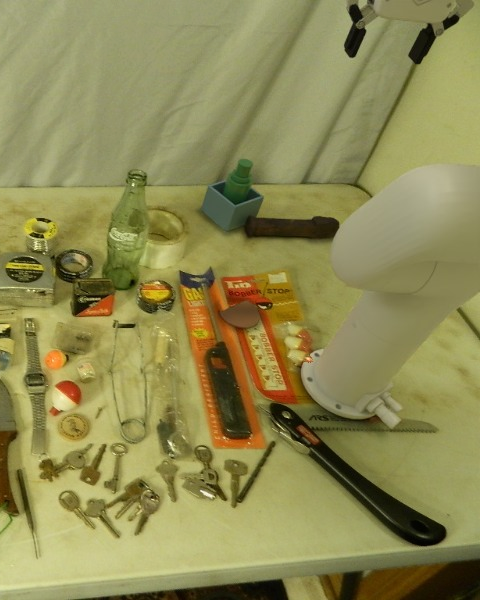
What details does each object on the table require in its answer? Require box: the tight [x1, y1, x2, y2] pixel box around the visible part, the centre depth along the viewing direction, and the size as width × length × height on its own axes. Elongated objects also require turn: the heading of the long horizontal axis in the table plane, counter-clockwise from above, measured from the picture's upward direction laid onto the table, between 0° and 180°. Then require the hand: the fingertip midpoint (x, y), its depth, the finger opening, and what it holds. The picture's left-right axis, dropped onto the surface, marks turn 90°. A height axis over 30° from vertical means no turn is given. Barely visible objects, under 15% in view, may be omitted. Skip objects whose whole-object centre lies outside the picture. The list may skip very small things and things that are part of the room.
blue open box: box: [200, 179, 265, 233], centre depth 108 cm, size 8×8×6 cm
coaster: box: [218, 299, 261, 330], centre depth 91 cm, size 7×7×1 cm
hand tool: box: [244, 215, 341, 240], centre depth 106 cm, size 19×4×5 cm, turn 89°
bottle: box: [222, 158, 254, 205], centre depth 105 cm, size 5×5×12 cm
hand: (381, 57), depth 78 cm, fingers open, 9 cm apart
